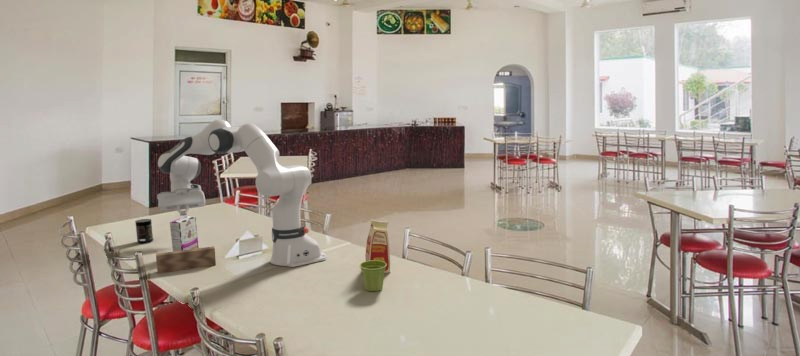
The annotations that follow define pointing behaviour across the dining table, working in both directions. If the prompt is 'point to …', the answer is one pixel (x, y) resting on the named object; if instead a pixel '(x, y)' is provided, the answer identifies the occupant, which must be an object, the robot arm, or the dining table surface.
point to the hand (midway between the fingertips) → (183, 214)
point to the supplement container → (144, 231)
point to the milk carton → (378, 244)
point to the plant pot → (373, 274)
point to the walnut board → (185, 259)
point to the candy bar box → (184, 233)
